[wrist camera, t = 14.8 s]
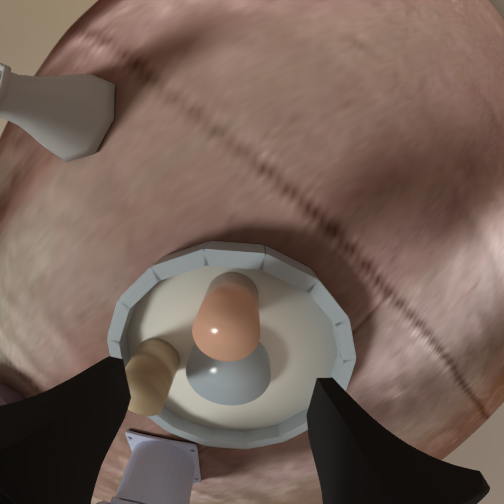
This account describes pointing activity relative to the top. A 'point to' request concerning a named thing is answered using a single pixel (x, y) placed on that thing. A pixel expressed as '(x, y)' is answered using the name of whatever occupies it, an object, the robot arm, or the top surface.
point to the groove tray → (251, 367)
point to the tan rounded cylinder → (151, 376)
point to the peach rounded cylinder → (228, 318)
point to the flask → (59, 110)
